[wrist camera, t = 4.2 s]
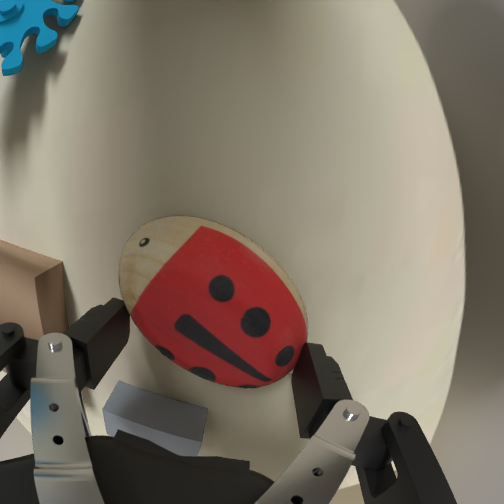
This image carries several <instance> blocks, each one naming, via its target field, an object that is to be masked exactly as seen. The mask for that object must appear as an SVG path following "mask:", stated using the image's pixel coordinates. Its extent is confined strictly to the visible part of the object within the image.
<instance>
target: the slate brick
mask: <svg viewBox="0 0 504 504" xmlns="http://www.w3.org/2000/svg"><path fill="white" fill-rule="evenodd" d="M102 410H103V416H104V421H105V426H106V431H107V434H108V435H110V436H113V437H114V436H115V434H116V432H117V430H118V429H119V430H122V431H124V432H127V433H130V434H133V435H136V436H138V437H141V438H144V439H148V440H150V441H152V442H153V443H155V444H157V445H159V446H161V447H163V448H165V449H167V450H169V451H171V452H173V453H175V454H177V455H180V456H197V455H198V452H199V449H200V446H201V443H202V438H203V432H204V426H205V421H206V415H207V408H203V407H199V406H195V405H191V404H188V403H184V402H181V401H177V400H174V399H170V398H167V397H164V396H161V395H158V394H155V393H152V392H149V391H146V390H143V389H140V388H138V387H135V386H132V385H130V384H127V383H124V382H122V381H118V383H117V385H116V386H115V388H114V390H113V391H112V393H111V395H110V397H109V399H108V400H107V402H106V404H105V406H104V407H103V409H102Z"/></svg>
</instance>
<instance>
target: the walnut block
mask: <svg viewBox="0 0 504 504" xmlns="http://www.w3.org/2000/svg"><path fill="white" fill-rule="evenodd" d="M7 322H13V323H17V324H19V325H20V326H21V327H22V328H23V331H24V336H25V337H27V338H31V339H36V340H40V338H41V337H42V336H44V335H46V334H49V333H62V334H63V333H64V332H65V331H66V330H67V329H68V328H69V327H68V320H67V312H66V303H65V293H64V279H63V261H60V260H57V259H54V258H51V257H47V256H44V255H42V254H39V253H36V252H33V251H30V250H27V249H24V248H21V247H19V246H16V245H13V244H10V243H8V242H5V241H2V240H0V325H1V324H3V323H7ZM3 371H4V372H6V373H7V371H6V369H5V368H4V369H3Z"/></svg>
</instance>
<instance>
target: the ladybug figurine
mask: <svg viewBox="0 0 504 504" xmlns="http://www.w3.org/2000/svg"><path fill="white" fill-rule="evenodd" d="M119 286H120V291H121V295H122V298H123V301H124V303H125V305H126V308H127V310H128V312H129V314H130V316H131V317H132V319H133V321H134V323H135V324H136V326H137V327H138V329H139V330H140V331H141V333H142V334H143V335H144V336H145V337H146V338H147V339H148V340H149V342H150V343H151V344H152V345H154V346H155V347H156V348H157V349H158V350H159V351H160V352H161V353H162V354H163V355H165V356H166V357H167V358H169V359H170V360H172V361H173V362H175V363H176V364H178V365H179V366H181V367H182V368H184V369H186V370H187V371H189V372H191V373H193V374H195V375H197V376H199V377H202V378H204V379H207V380H210V381H212V382H215V383H219V384H223V385H226V386H232V387H241V388H256V387H261V386H265V385H269V384H271V383H274V382H276V381H278V380H280V379H281V378H283V377H285V376H286V375H287V374H292V373H293V369H294V367H295V366H296V364H297V362H298V359H299V357H300V353H301V350H302V346H303V344H304V343H305V342H307V336H308V319H307V314H306V309H305V306H304V303H303V301H302V298H301V296H300V294H299V292H298V290H297V288H296V287H295V285H294V284H293V282H292V281H291V279H290V278H289V276H288V275H287V274H286V273H285V271H284V270H283V269H282V268H281V267H280V265H279V264H278V263H277V262H276V261H275V260H274V259H273V258H272V257H271V256H270V255H269V254H267V253H266V252H265V251H264V250H263V249H261V248H260V247H259V246H258V245H256V244H255V243H254V242H252V241H251V240H249V239H248V238H246V237H245V236H243V235H241V234H240V233H238V232H236V231H234V230H232V229H230V228H228V227H226V226H223V225H221V224H218V223H215V222H213V221H209V220H206V219H202V218H197V217H190V216H170V217H164V218H159V219H156V220H153V221H151V222H148V223H146V224H144V225H143V226H142V227H140V228H139V229H138V230H137V231H136V232H135V233H134V234H133V235H132V236H131V237H130V239H129V240H128V242H127V243H126V245H125V247H124V250H123V252H122V255H121V259H120V264H119Z"/></svg>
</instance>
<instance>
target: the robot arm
mask: <svg viewBox="0 0 504 504" xmlns="http://www.w3.org/2000/svg"><path fill="white" fill-rule="evenodd" d="M129 333H130V314H129V312H128V310H127V308H126V305H125V303H124V301H123V300H120V299H117V298H112V299H111V300H110V301H108V302H107V303H106V304H105V305H104V306H103V305H99V306H96V307H93V308H91V309H90V310H89V311H88V312H86V313H85V315H83V316H82V317H81V318H80V320H79V319H78V320H77V321H76V322H75V323H74V324H73V325H72V326H71V327H70V328H68V329H67V330H66V331H65V332H64V333H63V334H62V333H49V334H46V335H44V336H42V337H41V338H40V340H36V339H31V338H27V337H25V336H24V331H23V328H22V327H21V326H20V325H19V324H17V323H13V322H7V323H3V324H1V325H0V372H1V371H2V370H3V369H4V368H5V369H6V371H7V375H6V376H5V377H4V378H3V379H2V380H1V381H0V438H1V436H2V435H3V434H4V432H5V431H6V429H7V428H8V427H9V425H10V424H11V423H12V421H13V420H14V419H15V417H16V416H17V415H18V413H19V412H20V411H21V409H22V408H23V407H24V406H25V404H26V403H27V402H28V400H29V399H30V401H31V428H32V440H33V449H34V454H30V455H26V456H22V457H19V458H14V459H10V460H5V461H1V462H0V504H329V503H330V501H331V500H332V498H333V497H334V495H335V493H336V492H337V490H338V488H339V486H340V485H341V483H342V481H343V479H344V478H345V476H346V474H347V472H348V470H349V468H350V466H351V465H353V466H355V467H356V471H357V474H358V478H359V482H360V486H361V491H362V495H363V498H364V503H365V504H457V503H456V500H455V498H454V495H453V493H452V491H451V489H450V486H449V484H448V482H447V480H446V478H445V476H444V473H443V471H442V469H441V467H440V465H439V463H438V461H437V459H436V457H435V455H434V453H433V451H432V449H431V447H430V445H429V443H428V441H427V439H426V437H425V435H424V433H423V431H422V429H421V427H420V425H419V424H418V422H417V420H416V419H415V418H414V417H413V416H411V415H410V414H408V413H405V412H395V413H393V414H391V415H390V417H389V418H388V419H387V420H384V419H379V418H375V417H371V416H369V412H368V410H367V409H366V408H365V407H364V406H363V405H362V404H360V403H358V402H356V401H353V399H352V397H351V394H350V392H349V389H348V387H347V384H346V382H345V380H344V377H343V375H342V373H341V370H340V367H339V365H338V363H337V362H336V361H335V360H334V359H333V358H332V357H329V356H326V353H325V351H324V348H323V346H322V345H321V344H314V343H307V342H305V343H304V344H303V346H302V350H301V353H300V357H299V359H298V362H297V364H296V366H295V367H294V369H293V373H292V388H293V394H294V401H295V407H296V413H297V420H298V426H299V433H300V438H310V440H309V442H308V443H307V444H306V446H305V447H304V448H303V449H302V451H301V452H300V453H299V454H298V456H297V457H296V458H295V459H294V461H293V462H292V463H291V464H290V465H289V467H288V468H287V469H286V470H285V471H284V472H283V474H282V475H281V476H280V477H279V478H278V479H277V480H276V482H274V481H272V480H271V479H269V478H268V477H266V476H264V475H262V474H260V473H257V472H255V471H252V470H249V463H250V461H244V460H236V459H229V458H223V457H217V456H209V457H200V456H180V455H177V454H175V453H173V452H171V451H169V450H167V449H165V448H163V447H161V446H159V445H157V444H155V443H153V442H152V441H150V440H148V439H144V438H141V437H138V436H136V435H133V434H130V433H127V432H124V431H122V430H119V429H118V430H117V432H116V434H115V436H114V437H113V436H91V432H90V429H89V425H88V420H87V416H86V411H85V406H84V401H83V395H82V389H83V388H84V386H86V387H88V388H91V389H93V390H94V389H95V388H96V387H97V385H98V384H99V382H100V381H101V379H102V378H103V376H104V375H105V374H106V372H107V371H108V369H109V368H110V366H111V365H112V364H113V362H114V361H115V359H116V358H117V357H118V355H119V354H120V352H121V351H122V350H123V348H124V347H125V345H126V344H127V342H128V339H129ZM392 461H393V462H394V464H395V467H396V470H397V473H398V477H397V478H396V476H395V473H394V470H393V467H392V464H391V462H392Z"/></svg>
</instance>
